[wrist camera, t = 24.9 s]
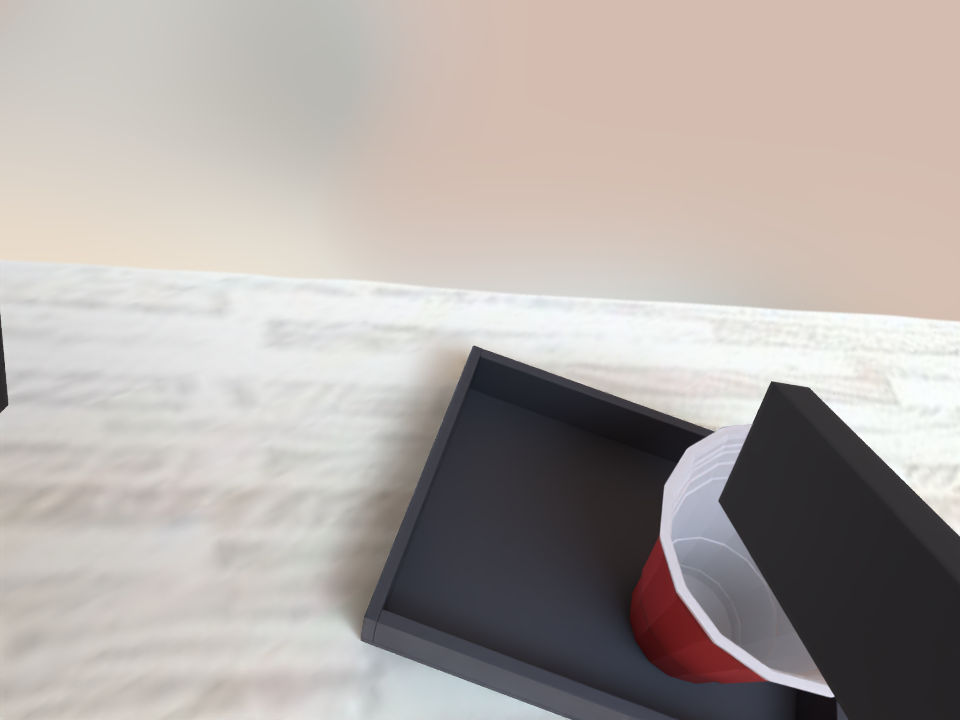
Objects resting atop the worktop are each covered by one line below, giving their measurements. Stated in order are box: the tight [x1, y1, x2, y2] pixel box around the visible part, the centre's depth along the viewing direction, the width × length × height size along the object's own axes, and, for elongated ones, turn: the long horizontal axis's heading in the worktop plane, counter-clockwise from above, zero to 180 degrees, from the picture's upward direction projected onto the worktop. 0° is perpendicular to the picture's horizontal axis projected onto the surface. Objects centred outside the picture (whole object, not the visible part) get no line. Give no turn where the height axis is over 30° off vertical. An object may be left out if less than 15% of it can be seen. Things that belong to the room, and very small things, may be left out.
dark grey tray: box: [361, 346, 848, 720], centre depth 37 cm, size 22×16×4 cm
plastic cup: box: [630, 424, 835, 697], centre depth 32 cm, size 11×11×12 cm
